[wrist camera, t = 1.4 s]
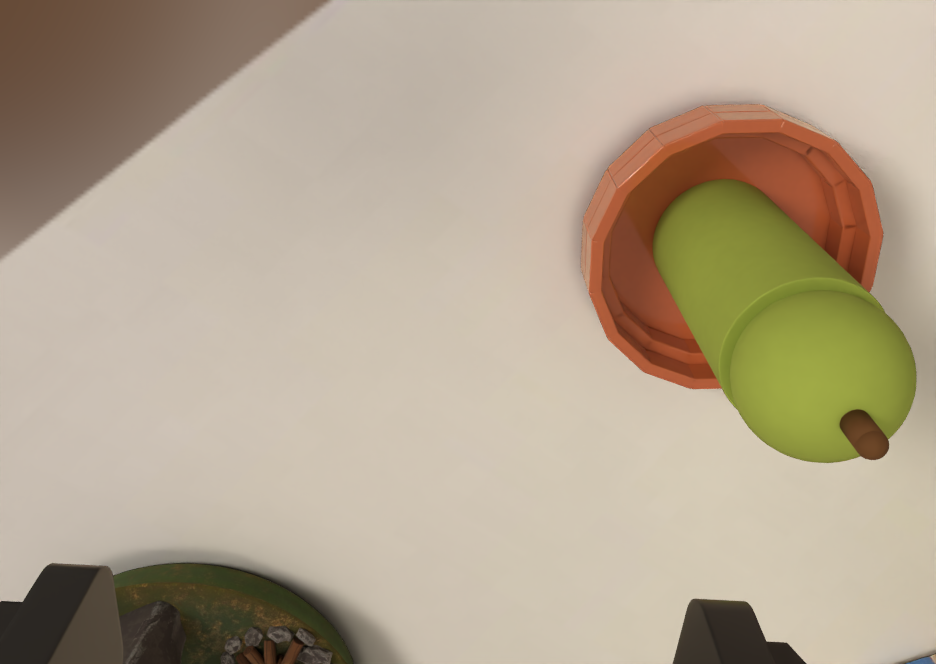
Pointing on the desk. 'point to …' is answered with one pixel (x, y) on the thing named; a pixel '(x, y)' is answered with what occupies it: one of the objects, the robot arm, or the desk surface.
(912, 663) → the stack of blocks
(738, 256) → the pear toy
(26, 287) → the desk surface
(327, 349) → the desk surface
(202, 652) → the toy scene
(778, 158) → the bowl
